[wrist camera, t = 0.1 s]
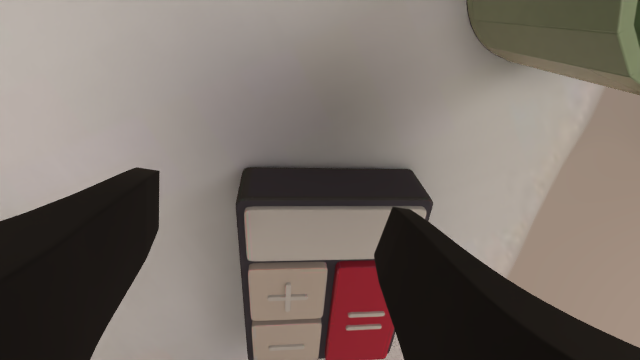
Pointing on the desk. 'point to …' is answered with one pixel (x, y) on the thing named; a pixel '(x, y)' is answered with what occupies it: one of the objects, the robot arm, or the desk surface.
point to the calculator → (318, 259)
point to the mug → (565, 37)
